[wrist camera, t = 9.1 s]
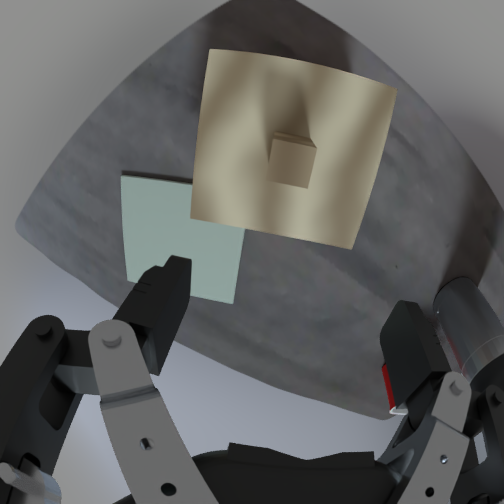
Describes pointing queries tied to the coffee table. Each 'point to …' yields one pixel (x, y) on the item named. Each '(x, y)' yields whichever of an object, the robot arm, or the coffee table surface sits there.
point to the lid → (288, 146)
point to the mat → (177, 236)
